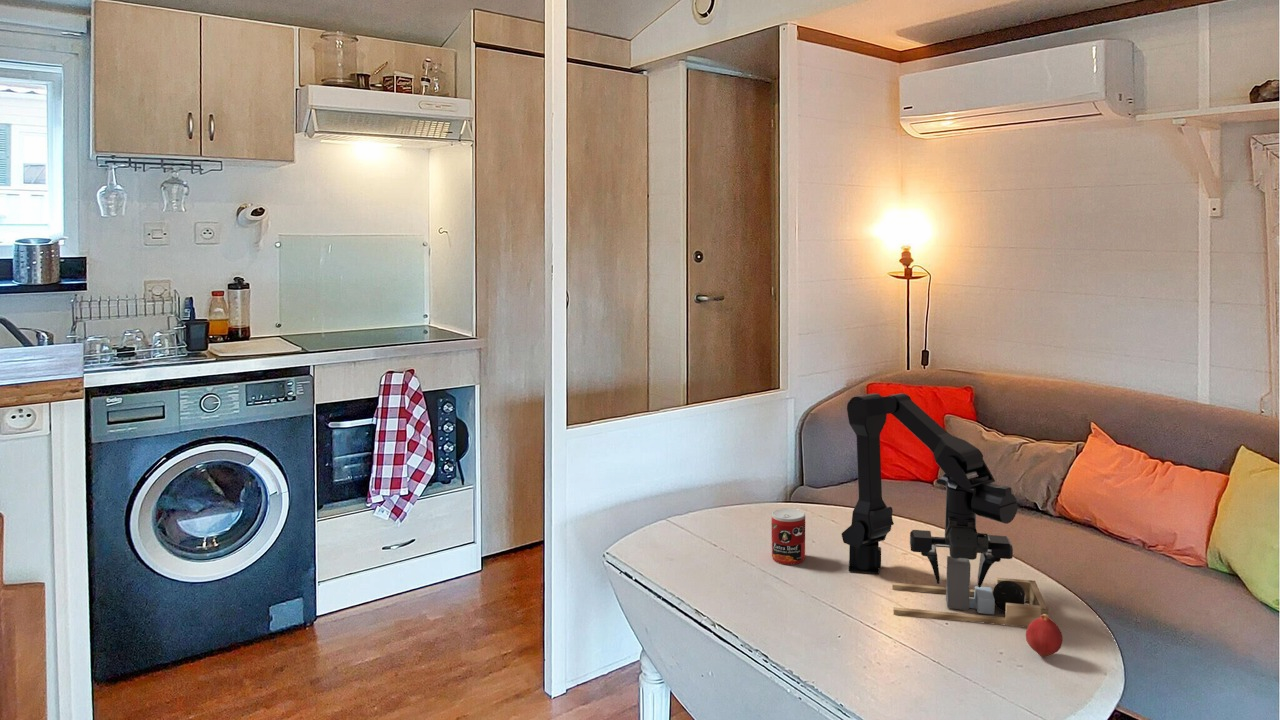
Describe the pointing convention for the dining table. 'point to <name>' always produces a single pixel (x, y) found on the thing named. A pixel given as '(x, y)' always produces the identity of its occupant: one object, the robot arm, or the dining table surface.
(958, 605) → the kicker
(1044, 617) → the onion
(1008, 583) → the billiard ball
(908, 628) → the dining table surface
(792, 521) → the canned food
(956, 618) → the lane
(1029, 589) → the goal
